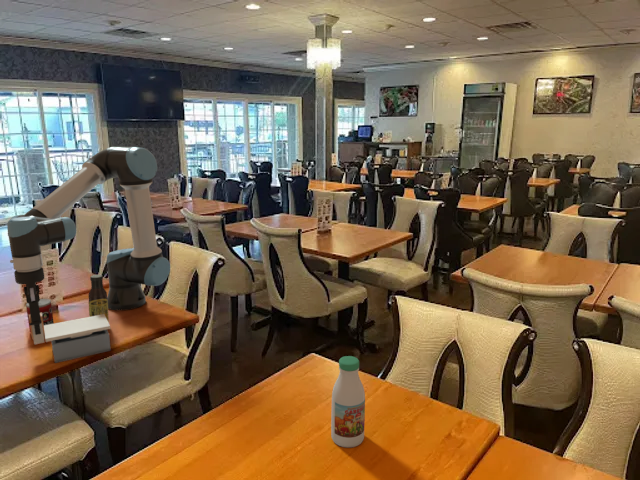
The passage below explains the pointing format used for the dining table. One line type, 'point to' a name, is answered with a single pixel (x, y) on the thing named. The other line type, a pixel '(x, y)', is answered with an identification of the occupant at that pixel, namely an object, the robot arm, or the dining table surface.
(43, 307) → the canned food
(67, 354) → the tub
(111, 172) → the robot arm
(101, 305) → the sauce bottle
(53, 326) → the lid
